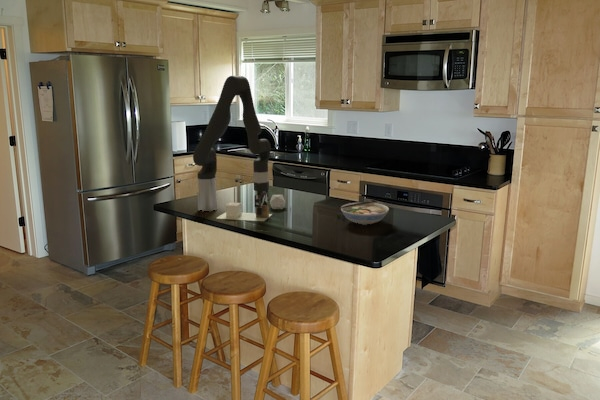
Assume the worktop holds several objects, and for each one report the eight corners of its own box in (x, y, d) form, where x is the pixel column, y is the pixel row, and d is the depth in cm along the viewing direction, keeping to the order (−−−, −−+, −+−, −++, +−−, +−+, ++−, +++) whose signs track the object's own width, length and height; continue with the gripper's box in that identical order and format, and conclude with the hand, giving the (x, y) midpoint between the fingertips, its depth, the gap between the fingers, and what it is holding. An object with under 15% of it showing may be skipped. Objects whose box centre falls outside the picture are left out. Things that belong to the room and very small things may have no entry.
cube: (226, 216, 258) (225, 205, 256) (230, 213, 263) (230, 202, 262) (237, 217, 256) (236, 205, 255) (241, 214, 262) (241, 202, 260)
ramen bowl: (358, 233, 230) (358, 215, 228) (328, 221, 249) (328, 205, 247) (400, 224, 243) (401, 207, 241) (369, 213, 262) (369, 198, 260)
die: (279, 213, 268) (289, 197, 269) (265, 205, 268) (275, 189, 269) (280, 215, 276) (289, 199, 277) (266, 206, 276) (275, 191, 277)
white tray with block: (215, 219, 255) (215, 206, 254) (226, 212, 268) (225, 200, 266) (264, 222, 249) (263, 209, 248) (272, 215, 261) (272, 202, 260)
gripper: (258, 177, 259) (259, 208, 263) (248, 183, 246) (250, 216, 250) (273, 177, 257) (274, 209, 261) (263, 183, 244) (264, 217, 248)
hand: (262, 212), depth 255 cm, fingers open, 8 cm apart
